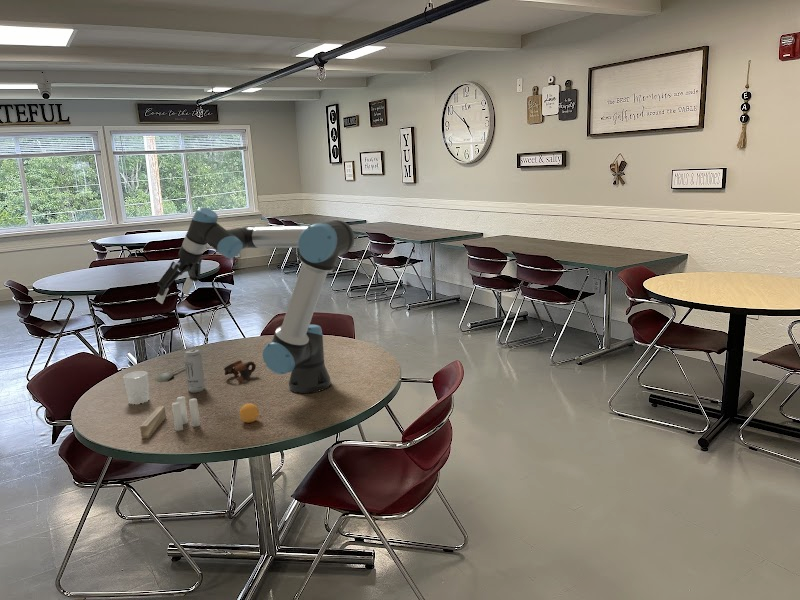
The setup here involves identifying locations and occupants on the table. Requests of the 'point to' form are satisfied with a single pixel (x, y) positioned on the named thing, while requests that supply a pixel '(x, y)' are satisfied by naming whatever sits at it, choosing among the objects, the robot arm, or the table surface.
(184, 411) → the pin
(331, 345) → the table surface
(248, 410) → the ball
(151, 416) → the back wall
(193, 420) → the front pin
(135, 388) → the white cup
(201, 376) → the energy drink can
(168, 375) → the soupspoon
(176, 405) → the pin
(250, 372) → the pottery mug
